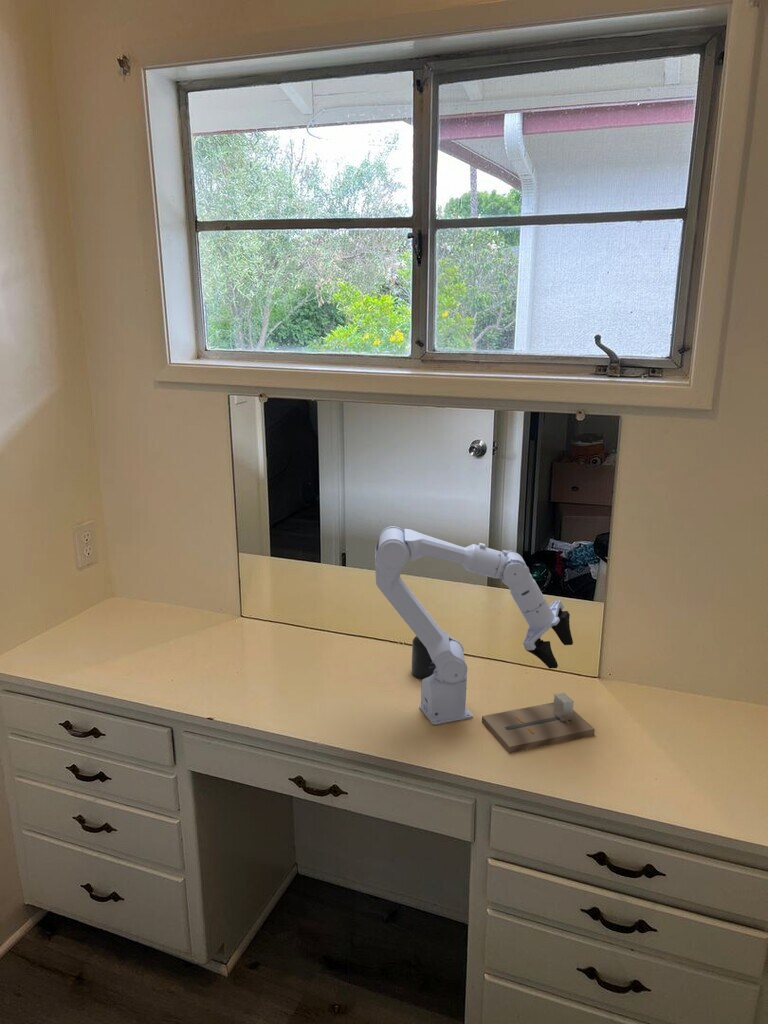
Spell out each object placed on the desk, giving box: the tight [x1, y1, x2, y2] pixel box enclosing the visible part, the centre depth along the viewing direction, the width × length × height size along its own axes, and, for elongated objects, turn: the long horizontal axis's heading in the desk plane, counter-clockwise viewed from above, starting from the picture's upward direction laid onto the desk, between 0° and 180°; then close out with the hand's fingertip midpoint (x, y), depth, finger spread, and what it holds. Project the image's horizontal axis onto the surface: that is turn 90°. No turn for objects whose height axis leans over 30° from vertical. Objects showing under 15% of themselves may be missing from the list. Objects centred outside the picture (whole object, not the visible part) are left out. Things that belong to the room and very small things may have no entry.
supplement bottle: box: [411, 635, 436, 680], centre depth 178 cm, size 7×7×12 cm
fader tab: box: [553, 692, 575, 722], centre depth 157 cm, size 2×4×4 cm, turn 20°
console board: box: [481, 701, 596, 754], centre depth 156 cm, size 20×12×2 cm, turn 110°
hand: (561, 655), depth 159 cm, fingers open, 7 cm apart
